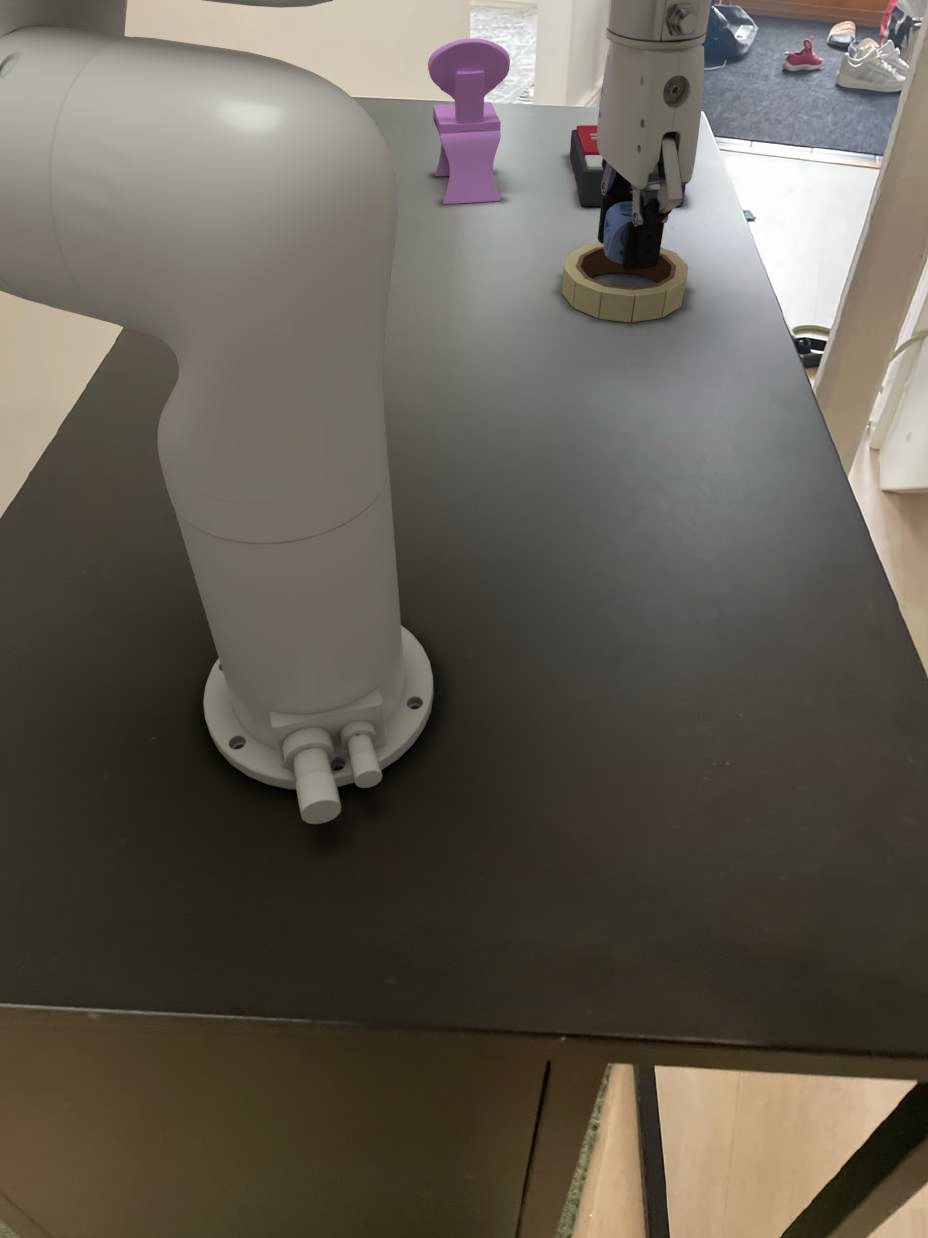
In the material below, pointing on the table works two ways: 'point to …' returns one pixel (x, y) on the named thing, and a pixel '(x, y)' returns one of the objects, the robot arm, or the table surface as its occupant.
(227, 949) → the table surface
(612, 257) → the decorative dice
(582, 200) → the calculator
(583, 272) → the tape roll
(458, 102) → the toy chair
